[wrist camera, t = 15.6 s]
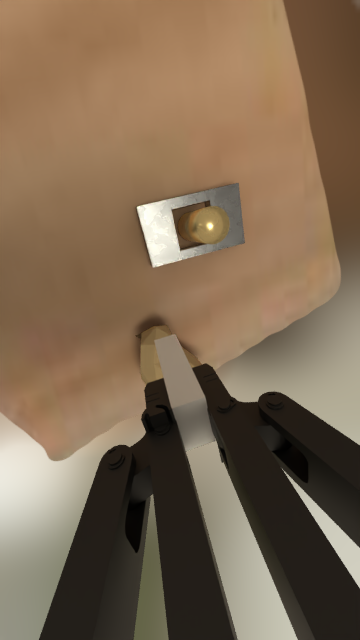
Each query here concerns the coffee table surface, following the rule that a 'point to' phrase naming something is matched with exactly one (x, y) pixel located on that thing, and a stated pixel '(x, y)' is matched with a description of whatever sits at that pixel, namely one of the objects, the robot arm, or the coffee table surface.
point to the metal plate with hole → (163, 232)
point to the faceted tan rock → (149, 353)
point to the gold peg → (204, 225)
